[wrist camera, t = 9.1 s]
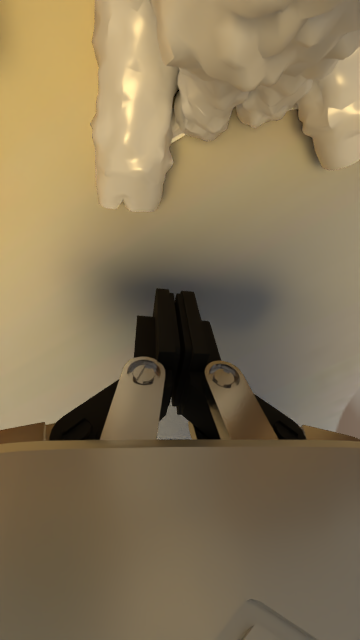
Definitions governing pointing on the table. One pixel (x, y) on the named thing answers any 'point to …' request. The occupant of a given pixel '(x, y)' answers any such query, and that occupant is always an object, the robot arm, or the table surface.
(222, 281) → the table surface
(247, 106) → the white creature statuette
